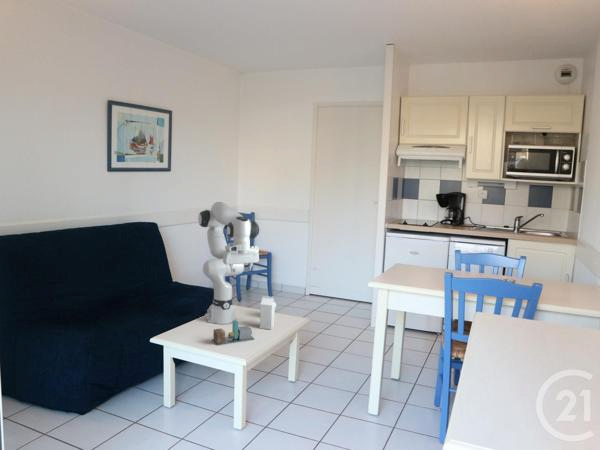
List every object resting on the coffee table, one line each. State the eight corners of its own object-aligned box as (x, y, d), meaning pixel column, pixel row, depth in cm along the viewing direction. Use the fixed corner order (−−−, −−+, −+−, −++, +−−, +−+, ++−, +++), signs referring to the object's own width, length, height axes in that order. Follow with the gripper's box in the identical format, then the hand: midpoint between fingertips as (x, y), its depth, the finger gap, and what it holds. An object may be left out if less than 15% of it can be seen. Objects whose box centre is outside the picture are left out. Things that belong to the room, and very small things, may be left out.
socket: (221, 339, 265) (221, 328, 264) (225, 343, 260) (225, 331, 259) (213, 340, 263) (213, 329, 262) (217, 344, 257) (217, 332, 257)
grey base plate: (248, 335, 274) (249, 324, 273) (254, 339, 267) (254, 329, 267) (211, 340, 263) (212, 329, 262) (216, 345, 256) (217, 334, 256)
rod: (249, 334, 272) (250, 318, 271) (252, 336, 269) (252, 320, 268) (227, 337, 265) (228, 321, 264) (230, 339, 262) (230, 323, 261)
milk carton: (271, 329, 285) (272, 298, 282) (259, 328, 286) (260, 297, 284) (274, 326, 291) (275, 295, 289) (262, 324, 293) (264, 294, 291)
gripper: (256, 244, 271) (255, 269, 272) (222, 246, 261) (221, 271, 262) (261, 246, 265) (260, 271, 267) (226, 248, 255) (225, 273, 257)
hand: (241, 271), depth 264 cm, fingers open, 8 cm apart
